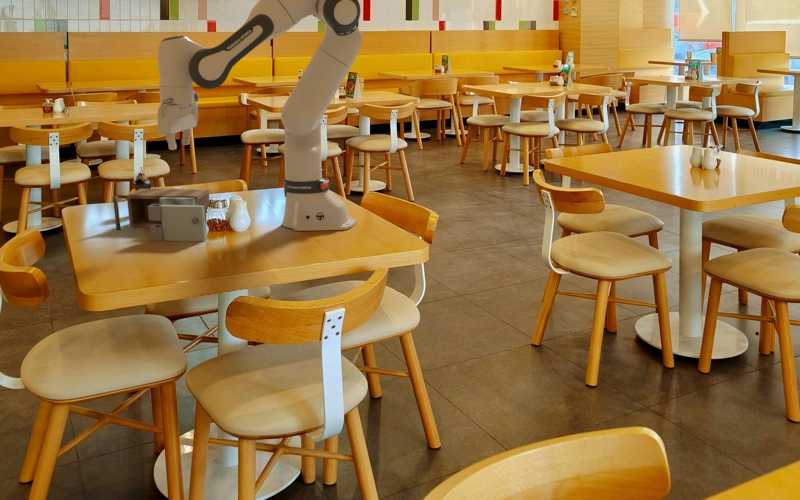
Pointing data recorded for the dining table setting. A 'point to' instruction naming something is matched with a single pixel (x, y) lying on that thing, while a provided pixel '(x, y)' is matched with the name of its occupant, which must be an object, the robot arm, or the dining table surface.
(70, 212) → the dining table surface
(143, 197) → the cabinet
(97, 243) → the dining table surface
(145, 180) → the sundae
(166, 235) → the door
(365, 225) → the dining table surface
